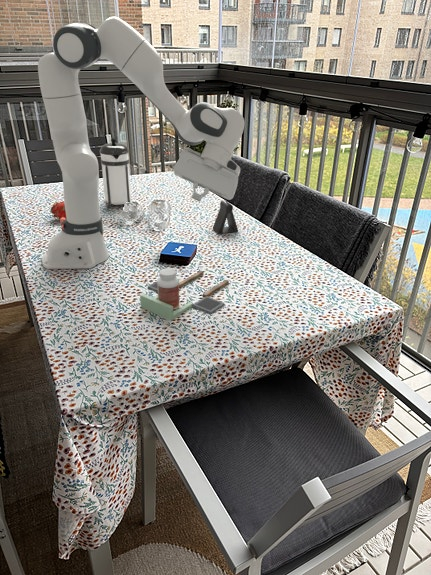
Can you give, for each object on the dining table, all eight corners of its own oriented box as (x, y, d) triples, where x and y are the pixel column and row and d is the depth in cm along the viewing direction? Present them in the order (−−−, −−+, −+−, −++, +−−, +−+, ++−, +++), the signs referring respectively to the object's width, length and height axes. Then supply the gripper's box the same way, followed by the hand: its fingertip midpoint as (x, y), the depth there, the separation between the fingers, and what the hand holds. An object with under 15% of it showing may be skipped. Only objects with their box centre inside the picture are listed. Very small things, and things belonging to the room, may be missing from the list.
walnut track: (200, 273, 149) (200, 270, 148) (228, 283, 143) (228, 280, 142) (177, 286, 140) (176, 283, 140) (205, 298, 134) (205, 295, 134)
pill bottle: (183, 308, 129) (182, 273, 124) (163, 313, 126) (162, 278, 121) (174, 298, 134) (173, 265, 128) (154, 303, 131) (153, 269, 126)
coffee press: (142, 202, 213) (139, 137, 199) (119, 211, 201) (113, 142, 187) (115, 196, 221) (110, 132, 207) (91, 204, 209) (84, 137, 195)
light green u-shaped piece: (164, 293, 136) (163, 282, 134) (193, 306, 130) (193, 294, 128) (140, 307, 129) (140, 295, 127) (170, 320, 123) (170, 308, 121)
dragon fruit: (49, 223, 190) (78, 224, 195) (51, 217, 182) (81, 218, 187) (48, 204, 191) (77, 205, 196) (50, 197, 183) (80, 199, 188)
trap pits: (162, 280, 144) (161, 278, 143) (224, 304, 131) (224, 302, 131) (147, 287, 139) (147, 285, 139) (210, 314, 126) (210, 312, 126)
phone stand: (218, 234, 180) (218, 205, 174) (212, 229, 185) (213, 201, 179) (238, 231, 183) (239, 203, 177) (232, 226, 188) (233, 199, 182)
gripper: (183, 141, 135) (164, 182, 134) (245, 170, 135) (226, 210, 134) (184, 149, 141) (165, 188, 140) (243, 176, 141) (224, 215, 140)
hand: (195, 199), depth 137 cm, fingers closed
